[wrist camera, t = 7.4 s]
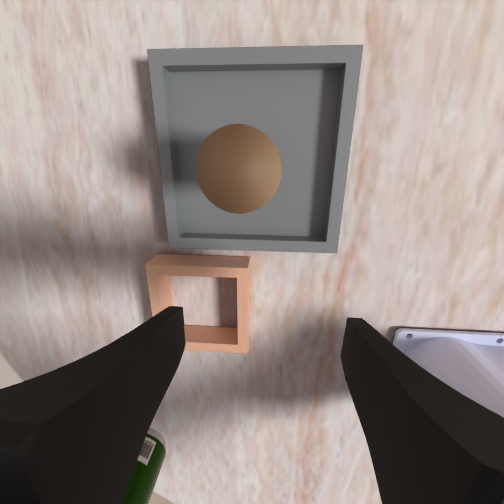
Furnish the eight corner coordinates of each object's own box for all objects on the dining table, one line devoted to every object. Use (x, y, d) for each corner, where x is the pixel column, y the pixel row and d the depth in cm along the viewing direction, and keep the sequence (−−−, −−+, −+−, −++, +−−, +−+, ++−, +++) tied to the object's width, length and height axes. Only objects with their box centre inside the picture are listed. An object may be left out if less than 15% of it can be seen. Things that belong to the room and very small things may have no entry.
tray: (353, 56, 16) (363, 44, 14) (331, 244, 20) (336, 253, 18) (159, 59, 17) (147, 49, 15) (177, 240, 21) (168, 248, 19)
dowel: (281, 138, 17) (287, 128, 10) (274, 191, 18) (275, 218, 11) (229, 134, 17) (196, 119, 10) (226, 186, 19) (195, 209, 11)
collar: (250, 256, 21) (247, 268, 19) (249, 336, 24) (247, 353, 22) (156, 253, 21) (144, 264, 19) (166, 331, 24) (157, 348, 22)
